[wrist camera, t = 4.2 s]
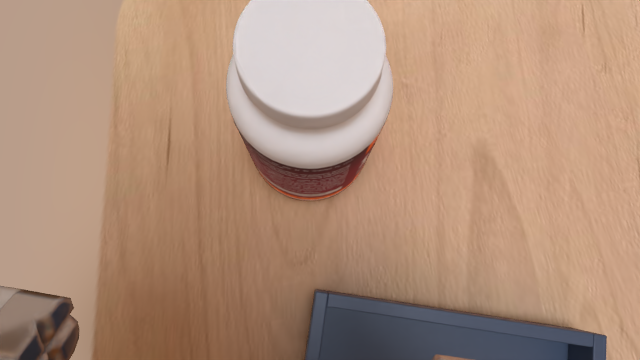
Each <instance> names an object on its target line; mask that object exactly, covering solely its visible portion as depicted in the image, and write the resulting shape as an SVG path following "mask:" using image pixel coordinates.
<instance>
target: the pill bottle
mask: <svg viewBox="0 0 640 360" xmlns="http://www.w3.org/2000/svg"><path fill="white" fill-rule="evenodd" d="M226 92H227V100H228V104H229V108H230V111H231V115H232V117H233V120H234V123H235V125H236V127H237V128H238V130H239V133H240V135H241V137H242V139H243V141H244V143H245V145H246V147H247V149H248V151H249V153H250V156H251V158H252V160H253V162H254V164H255V166H256V168H257V169H258V171H259V173H260V174H261V176H262V177H263V178H264V179H265V180H266V182H267V183H268V184H269V185H270V186H272V187H273V188H274V189H276V190H277V191H278V192H280V193H282V194H284V195H286V196H288V197H291V198H295V199H299V200H321V199H325V198H328V197H331V196H334V195H336V194H338V193H340V192H341V191H343V190H344V189H345V188H347V187H348V186H349V185H350V184H351V183H352V182H353V181H354V180H355V179H356V178H357V176H358V175H359V173H360V172H361V170H362V168H363V167H364V164H365V162H366V160H367V158H368V156H369V154H370V152H371V150H372V148H373V146H374V144H375V142H376V140H377V138H378V136H379V134H380V132H381V130H382V128H383V126H384V124H385V121H386V119H387V116H388V114H389V111H390V107H391V103H392V98H393V78H392V72H391V68H390V64H389V62H388V59H387V57H386V39H385V33H384V30H383V26H382V23H381V21H380V19H379V17H378V15H377V13H376V12H375V10H374V9H373V7H372V6H371V5H370V3H369V2H368V1H367V0H251V1H250V2H249V3H248V5H247V6H246V7H245V8H244V10H243V12H242V13H241V15H240V18H239V20H238V22H237V24H236V28H235V31H234V37H233V56H232V58H231V61H230V64H229V68H228V72H227V81H226Z"/></svg>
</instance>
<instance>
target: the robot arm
mask: <svg viewBox="0 0 640 360" xmlns="http://www.w3.org/2000/svg"><path fill="white" fill-rule="evenodd" d="M73 308H74V307H73V304H72V301H71V298H67V297H61V296H56V295H50V294H45V293H39V292H33V291H28V290H22V289H16V288H10V287H4V286H0V360H69V359H70V358H71V356H72V354H73V352H74V350H75V348H76V344H77V342H78V339H79V326H78V321H76V320H75V319H74V318H73V317H72V316H71V315H70V313H71V311H72V310H73ZM432 360H474V359H466V358H459V357H452V356H445V355H438V354H436V355H435V356H433V358H432Z"/></svg>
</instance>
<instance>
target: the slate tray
mask: <svg viewBox="0 0 640 360" xmlns="http://www.w3.org/2000/svg"><path fill="white" fill-rule="evenodd" d="M436 354H438V355H445V356H452V357H459V358H466V359H474V360H606V336H605V335H601V334H597V333H592V332H588V331H583V330H578V329H574V328H567V327H561V326H554V325H548V324H541V323H535V322H528V321H522V320H515V319H509V318H502V317H496V316H489V315H483V314H476V313H469V312H463V311H456V310H450V309H443V308H437V307H430V306H424V305H417V304H411V303H404V302H398V301H391V300H385V299H378V298H371V297H365V296H358V295H352V294H345V293H339V292H332V291H326V290H319V289H315V292H314V299H313V305H312V312H311V319H310V326H309V333H308V339H307V346H306V353H305V360H432V358H433V356H435V355H436Z"/></svg>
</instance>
